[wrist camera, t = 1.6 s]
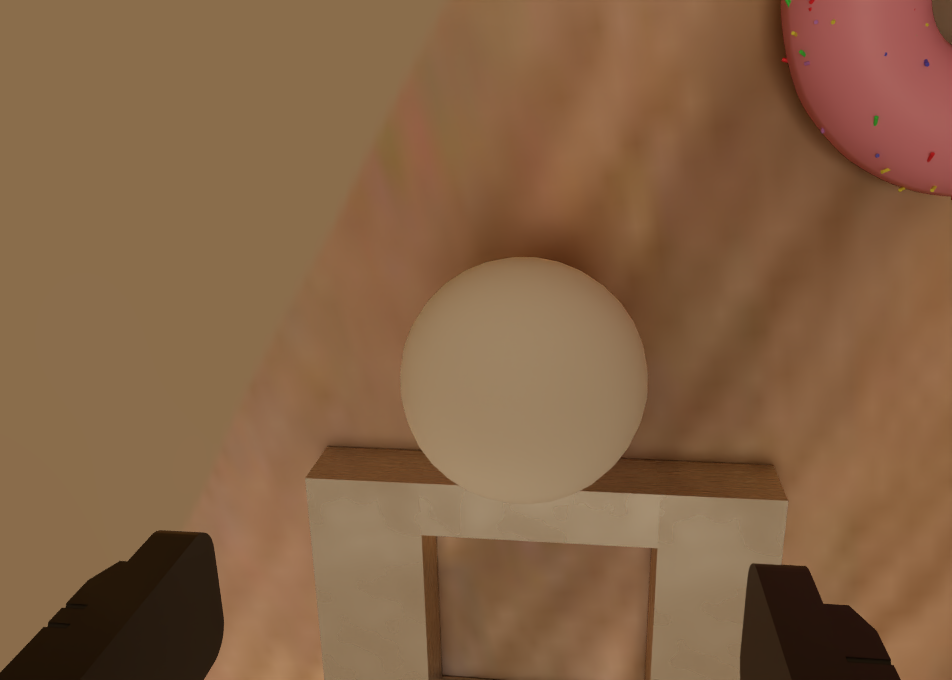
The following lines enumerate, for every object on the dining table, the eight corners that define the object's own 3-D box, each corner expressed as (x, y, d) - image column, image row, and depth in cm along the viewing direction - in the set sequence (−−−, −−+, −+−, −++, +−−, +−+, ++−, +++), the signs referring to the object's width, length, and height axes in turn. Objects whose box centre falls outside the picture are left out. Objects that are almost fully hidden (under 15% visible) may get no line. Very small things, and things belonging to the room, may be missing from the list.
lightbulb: (434, 349, 30) (346, 506, 19) (479, 180, 28) (408, 257, 17) (601, 400, 30) (602, 587, 19) (660, 234, 27) (697, 344, 17)
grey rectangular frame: (773, 465, 29) (788, 500, 27) (745, 741, 33) (756, 793, 31) (327, 446, 32) (305, 478, 29) (349, 707, 35) (331, 754, 33)
